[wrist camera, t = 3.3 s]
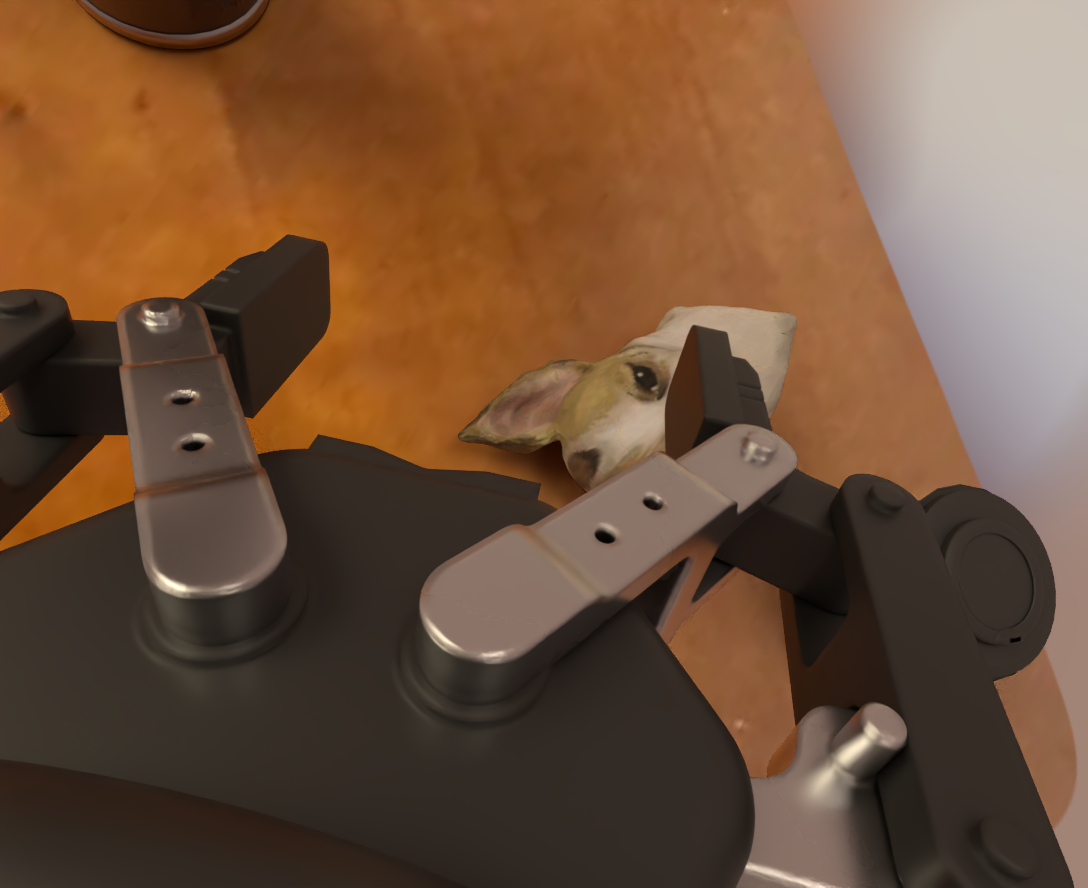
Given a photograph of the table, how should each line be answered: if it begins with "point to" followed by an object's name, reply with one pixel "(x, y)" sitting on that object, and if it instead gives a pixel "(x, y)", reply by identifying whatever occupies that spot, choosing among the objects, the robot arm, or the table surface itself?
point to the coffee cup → (995, 573)
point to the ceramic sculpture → (624, 393)
